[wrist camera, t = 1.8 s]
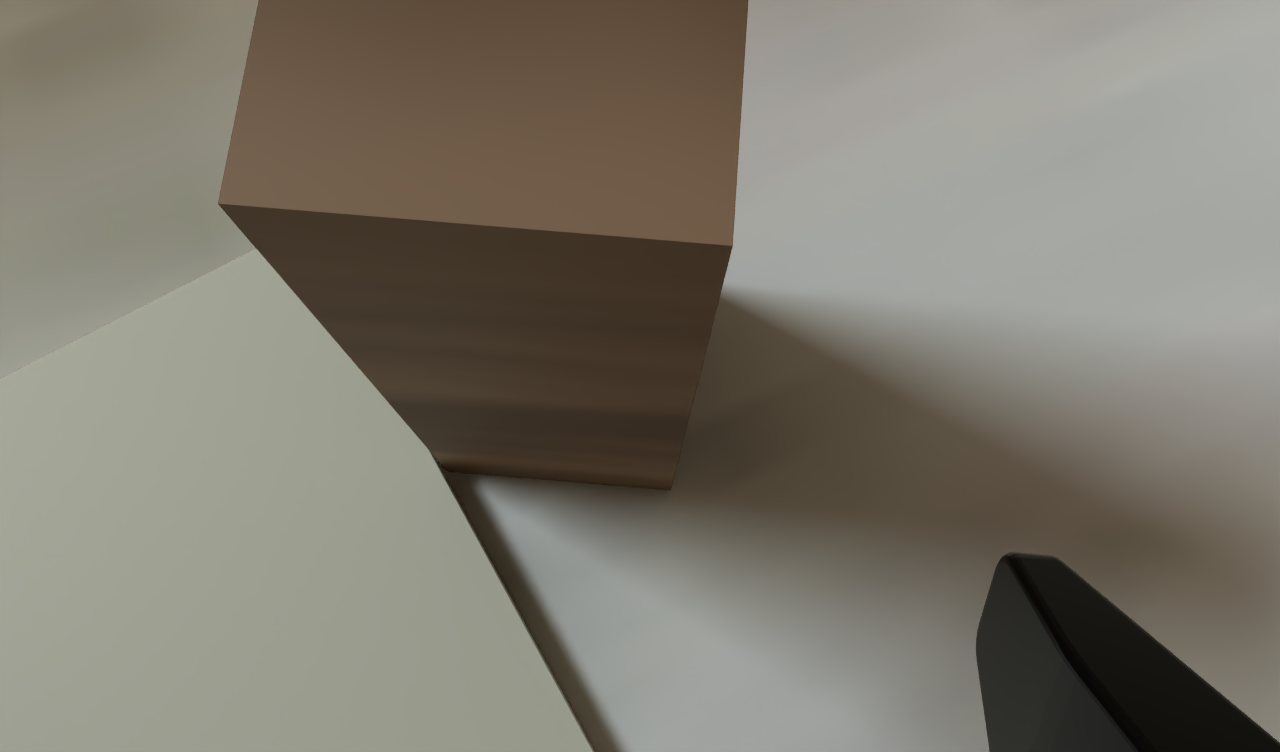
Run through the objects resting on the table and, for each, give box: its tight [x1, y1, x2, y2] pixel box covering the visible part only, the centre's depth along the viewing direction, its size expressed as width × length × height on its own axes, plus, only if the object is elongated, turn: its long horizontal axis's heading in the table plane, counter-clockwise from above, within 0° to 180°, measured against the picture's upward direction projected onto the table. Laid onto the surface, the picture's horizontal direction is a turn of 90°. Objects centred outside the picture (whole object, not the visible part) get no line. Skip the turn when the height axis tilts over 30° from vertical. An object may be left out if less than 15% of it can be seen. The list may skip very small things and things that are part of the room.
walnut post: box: [218, 0, 748, 490], centre depth 15 cm, size 4×4×12 cm
